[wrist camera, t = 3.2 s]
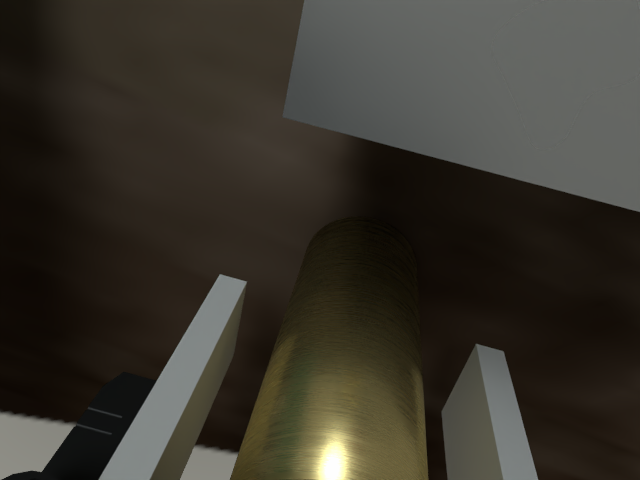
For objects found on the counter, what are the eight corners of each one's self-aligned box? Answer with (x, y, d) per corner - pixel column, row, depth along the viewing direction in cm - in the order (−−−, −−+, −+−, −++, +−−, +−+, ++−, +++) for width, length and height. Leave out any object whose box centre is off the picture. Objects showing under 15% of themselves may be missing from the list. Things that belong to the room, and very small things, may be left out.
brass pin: (259, 312, 19) (88, 727, 9) (290, 161, 16) (80, 528, 6) (417, 355, 19) (439, 827, 9) (480, 212, 16) (635, 684, 5)
